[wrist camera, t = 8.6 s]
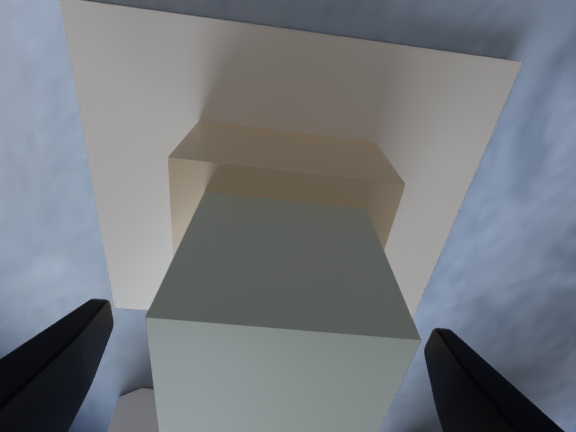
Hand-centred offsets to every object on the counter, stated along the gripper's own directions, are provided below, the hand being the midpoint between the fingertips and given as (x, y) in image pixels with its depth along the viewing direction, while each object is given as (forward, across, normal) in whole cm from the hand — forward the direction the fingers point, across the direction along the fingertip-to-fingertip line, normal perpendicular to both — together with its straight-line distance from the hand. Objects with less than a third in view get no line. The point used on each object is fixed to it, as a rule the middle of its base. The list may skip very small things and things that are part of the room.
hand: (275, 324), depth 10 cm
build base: (+8, 0, 0) cm, 8 cm away
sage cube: (+3, 0, 0) cm, 3 cm away
